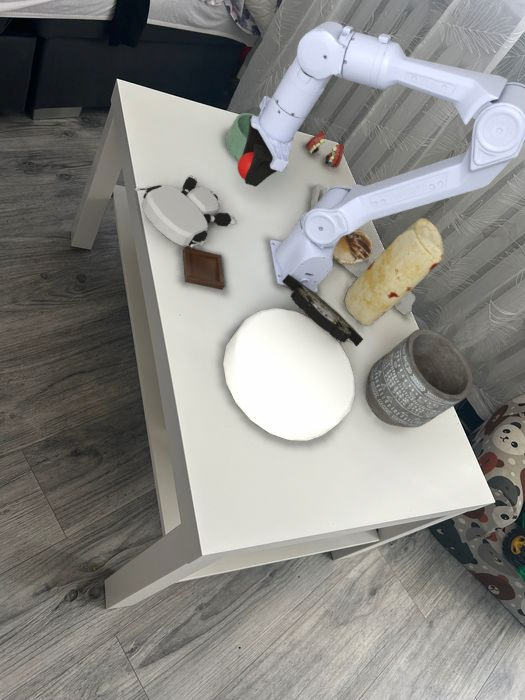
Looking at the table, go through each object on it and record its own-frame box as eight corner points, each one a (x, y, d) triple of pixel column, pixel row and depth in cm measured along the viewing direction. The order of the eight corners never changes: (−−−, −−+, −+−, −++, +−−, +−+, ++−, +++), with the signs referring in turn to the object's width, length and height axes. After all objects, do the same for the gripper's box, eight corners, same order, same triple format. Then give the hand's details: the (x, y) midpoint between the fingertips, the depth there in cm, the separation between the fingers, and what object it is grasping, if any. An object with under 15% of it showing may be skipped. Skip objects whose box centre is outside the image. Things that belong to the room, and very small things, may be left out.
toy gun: (423, 276, 121) (405, 317, 111) (314, 187, 119) (286, 221, 109) (429, 270, 120) (411, 312, 109) (319, 180, 118) (291, 214, 107)
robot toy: (183, 184, 102) (123, 207, 91) (194, 164, 99) (134, 185, 88) (233, 235, 101) (178, 264, 90) (246, 216, 98) (191, 244, 87)
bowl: (273, 174, 115) (285, 157, 111) (228, 159, 110) (238, 141, 107) (267, 140, 120) (278, 123, 116) (223, 125, 115) (233, 106, 112)
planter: (429, 425, 98) (486, 390, 89) (381, 445, 91) (438, 409, 81) (392, 362, 102) (443, 322, 93) (343, 377, 94) (393, 334, 85)
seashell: (358, 208, 100) (383, 255, 105) (342, 203, 105) (366, 248, 110) (322, 236, 100) (348, 281, 105) (307, 229, 105) (334, 273, 110)
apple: (259, 191, 96) (275, 166, 93) (234, 183, 94) (249, 158, 90) (256, 171, 99) (271, 147, 95) (231, 163, 97) (246, 138, 93)
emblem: (363, 334, 100) (364, 351, 86) (356, 341, 101) (357, 359, 86) (291, 272, 100) (280, 278, 86) (285, 279, 100) (273, 286, 86)
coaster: (222, 290, 92) (225, 286, 91) (184, 282, 89) (187, 278, 88) (218, 259, 95) (221, 255, 94) (182, 250, 92) (184, 246, 92)
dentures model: (307, 143, 120) (340, 164, 121) (317, 126, 121) (349, 148, 122) (299, 153, 125) (331, 174, 127) (309, 137, 126) (340, 158, 127)
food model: (377, 333, 104) (457, 263, 90) (345, 325, 102) (423, 251, 87) (367, 289, 110) (441, 217, 95) (337, 281, 107) (409, 204, 92)
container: (206, 322, 87) (219, 304, 83) (313, 321, 98) (329, 305, 95) (247, 450, 79) (264, 435, 75) (359, 432, 90) (378, 419, 87)
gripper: (260, 63, 88) (222, 134, 98) (273, 128, 80) (230, 197, 90) (301, 81, 91) (260, 148, 101) (316, 144, 84) (271, 210, 93)
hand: (248, 172), depth 96 cm, fingers closed on apple, 4 cm apart
